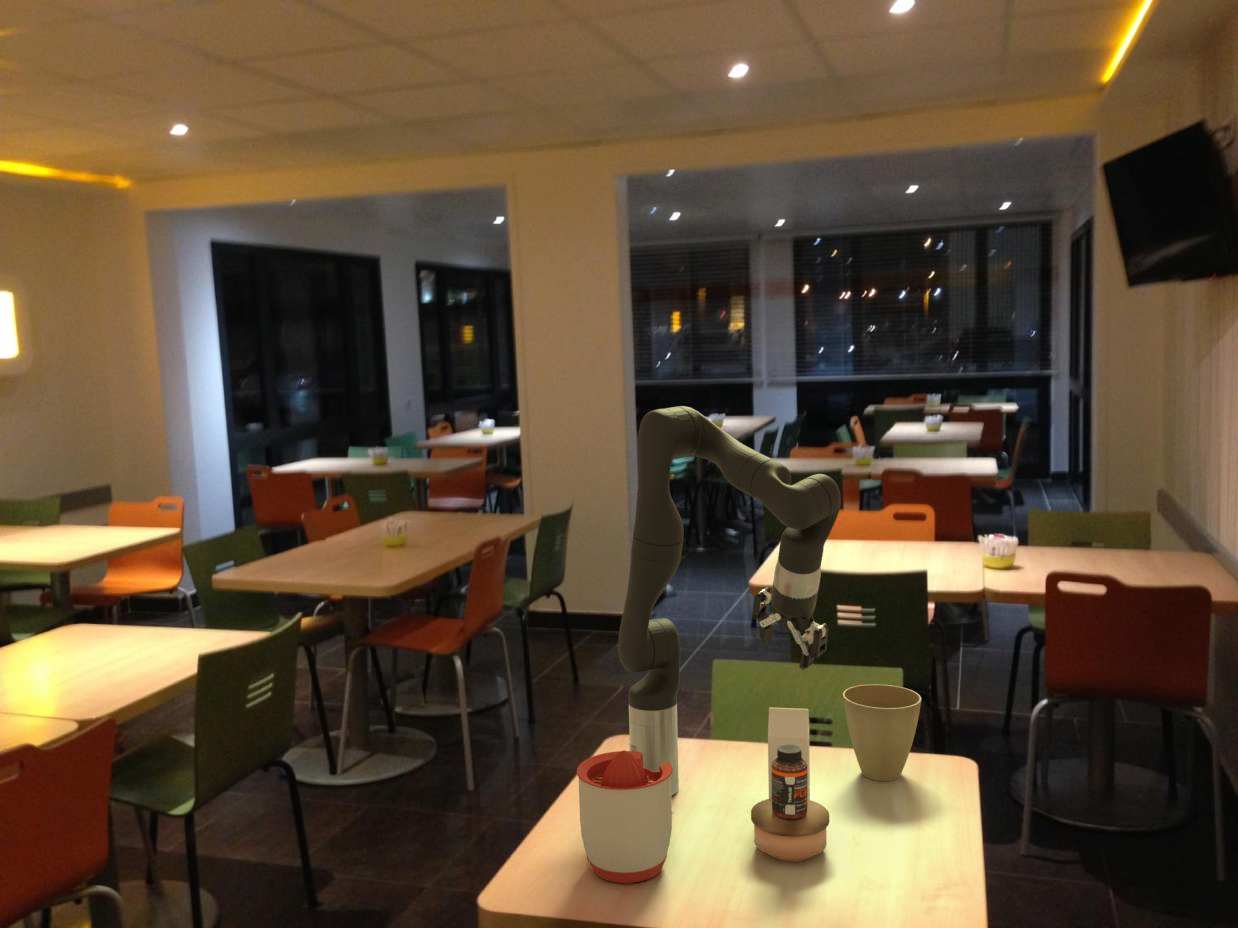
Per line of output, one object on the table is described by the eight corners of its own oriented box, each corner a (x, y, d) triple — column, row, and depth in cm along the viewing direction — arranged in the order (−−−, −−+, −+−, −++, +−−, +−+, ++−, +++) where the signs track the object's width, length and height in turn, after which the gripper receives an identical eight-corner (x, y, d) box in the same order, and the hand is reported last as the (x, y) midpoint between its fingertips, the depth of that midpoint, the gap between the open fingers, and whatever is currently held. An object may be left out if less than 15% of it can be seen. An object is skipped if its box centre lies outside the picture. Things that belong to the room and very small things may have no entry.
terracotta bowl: (760, 868, 175) (760, 836, 174) (749, 835, 187) (748, 804, 186) (834, 865, 175) (833, 833, 174) (817, 832, 187) (817, 802, 186)
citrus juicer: (701, 861, 178) (699, 745, 175) (628, 902, 165) (624, 777, 163) (633, 833, 189) (630, 723, 186) (560, 869, 176) (555, 752, 174)
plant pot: (909, 794, 201) (909, 712, 200) (833, 780, 209) (832, 701, 207) (929, 766, 214) (929, 689, 212) (856, 754, 222) (856, 679, 220)
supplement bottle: (799, 823, 176) (798, 757, 175) (765, 816, 179) (765, 750, 178) (813, 810, 181) (812, 745, 180) (780, 802, 184) (779, 739, 183)
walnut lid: (757, 837, 174) (757, 831, 173) (745, 803, 186) (745, 798, 186) (837, 834, 174) (837, 828, 174) (819, 800, 187) (819, 795, 187)
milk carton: (808, 818, 193) (807, 715, 191) (768, 815, 194) (767, 714, 192) (809, 801, 200) (809, 702, 198) (771, 799, 201) (770, 701, 199)
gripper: (844, 593, 176) (831, 665, 185) (777, 552, 185) (767, 623, 194) (816, 613, 172) (804, 686, 181) (748, 571, 180) (740, 642, 189)
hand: (785, 653), depth 187 cm, fingers open, 8 cm apart
